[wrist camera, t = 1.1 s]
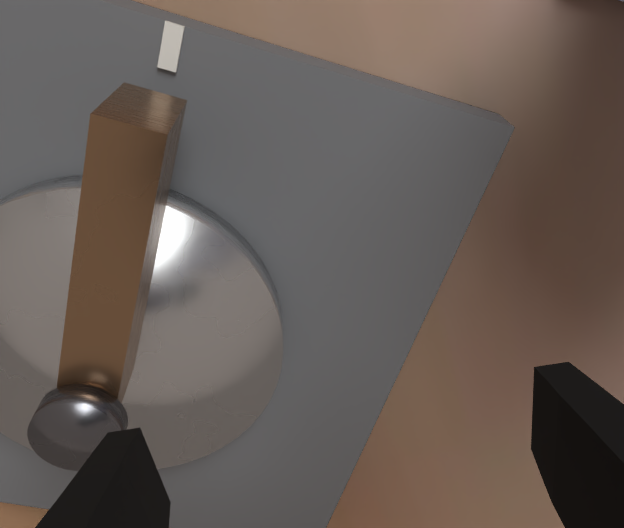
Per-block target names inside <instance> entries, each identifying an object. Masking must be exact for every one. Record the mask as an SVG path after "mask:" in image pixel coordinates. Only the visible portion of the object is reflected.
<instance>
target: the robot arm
mask: <svg viewBox="0 0 624 528" xmlns="http://www.w3.org/2000/svg"><path fill="white" fill-rule="evenodd" d="M619 1H622V2H624V0H619ZM531 450H532V452H533V455H534V458H535V460H536V463H537V466H538V468H539V471H540V474H541V476H542V479H543V481H544V484H545V486H546V489H547V491H548V494H549V496H550V499H551V501H552V503H553V505H554V507H555V509H556V511H557V513H558V515H559V517H560V519H561V521H562V523H563V525H564V527H565V528H624V404H623V403H621V402H620V401H619V400H617V399H616V398H615V397H613V396H612V395H611V394H610V393H608V392H607V391H606V390H604V389H603V388H602V387H601V386H599V385H598V384H597V383H595V382H594V381H593V380H592V379H590V378H589V377H588V376H586V375H585V374H584V373H582V372H581V371H580V370H579V369H577V368H576V367H575V366H573V365H572V364H571V363H569V362H565V363H558V364H552V365H545V366H539V367H534V388H533V413H532V439H531ZM170 505H171V502H170V499H169V497H168V494H167V492H166V490H165V487H164V485H163V482H162V480H161V477H160V475H159V472H158V470H157V468H156V465H155V463H154V460H153V458H152V455H151V453H150V450H149V448H148V445H147V443H146V441H145V438H144V436H143V433H142V431H141V428H134V429H127V430H121V431H114V432H108V433H107V434H106V435H105V437H104V438H103V439H102V441H101V442H100V443H99V444H98V446H97V447H96V448H95V450H94V451H93V452H92V454H91V455H90V456H89V458H88V459H87V460H86V462H85V463H84V464H83V466H82V467H81V468H80V470H79V471H78V472H77V474H76V475H75V476H74V478H73V479H72V480H71V482H70V483H69V484H68V486H67V487H66V488H65V490H64V491H63V492H62V494H61V495H60V496H59V498H58V499H57V500H56V502H55V503H54V504H53V505H52V507H51V508H50V509H49V511H48V512H47V513H46V514H45V516H44V517H43V518H42V520H41V521H40V522H39V523H38V525H37V526H36V527H35V528H169V518H170Z"/></svg>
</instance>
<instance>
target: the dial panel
mask: <svg viewBox="0 0 624 528" xmlns="http://www.w3.org/2000/svg"><path fill="white" fill-rule="evenodd" d="M124 82H125V83H129V84H132V85H136V86H139V87H143V88H146V89H150V90H153V91H157V92H160V93H164V94H167V95H171V96H174V97H178V98H181V99H185V100H187V104H186V109H185V114H184V119H183V124H182V129H181V134H180V139H179V144H178V149H177V154H176V160H175V165H174V170H173V175H172V180H171V185H170V189H172V190H174V191H177V192H179V193H181V194H183V195H185V196H188V197H190V198H192V199H194V200H196V201H197V202H199V203H201V204H202V205H204V206H206V207H207V208H209V209H211V210H212V211H214V212H215V213H217V214H218V215H219V216H220V217H222V218H223V219H224V220H226V221H227V222H228V223H229V224H231V225H232V226H233V227H234V228H235V229H236V230H237V231H238V232H239V233H240V234H241V235H242V236H243V237H244V238H245V239H246V240H247V241H248V242H249V243H250V245H251V246H252V247H253V249H254V250H255V251H256V253H257V254H258V255H259V256H260V258H261V259H262V261H263V263H264V265H265V266H266V268H267V270H268V272H269V273H270V275H271V277H272V280H273V283H274V285H275V288H276V290H277V293H278V296H279V301H280V305H281V310H282V320H283V358H282V368H281V372H280V375H279V379H278V383H277V386H276V388H275V390H274V392H273V395H272V397H271V399H270V401H269V402H268V404H267V406H266V407H265V409H264V410H263V412H262V413H261V415H260V416H259V417H258V418H257V419H256V420H255V421H254V423H253V424H252V425H251V426H250V427H249V428H248V429H247V430H245V431H244V432H243V433H242V434H241V435H240V436H238V437H237V438H236V439H234V440H233V441H231V442H230V443H228V444H227V445H225V446H224V447H222V448H220V449H218V450H216V451H215V452H213V453H211V454H209V455H207V456H204V457H201V458H199V459H196V460H193V461H191V462H188V463H184V464H180V465H176V466H172V467H167V468H160V469H157V470H158V472H159V475H160V477H161V480H162V482H163V485H164V487H165V490H166V492H167V494H168V497H169V499H170V502H171V505H170V518H169V528H326V527H327V525H328V523H329V520H330V518H331V516H332V514H333V512H334V510H335V508H336V506H337V504H338V501H339V499H340V497H341V495H342V493H343V491H344V489H345V487H346V484H347V482H348V480H349V478H350V476H351V474H352V472H353V470H354V467H355V465H356V463H357V461H358V459H359V457H360V455H361V453H362V451H363V448H364V446H365V444H366V442H367V440H368V438H369V436H370V434H371V431H372V429H373V427H374V425H375V423H376V421H377V419H378V417H379V414H380V412H381V410H382V408H383V406H384V404H385V402H386V400H387V398H388V395H389V393H390V391H391V389H392V387H393V385H394V383H395V381H396V378H397V376H398V374H399V372H400V370H401V368H402V366H403V364H404V361H405V359H406V357H407V355H408V353H409V351H410V349H411V347H412V345H413V342H414V340H415V338H416V336H417V334H418V332H419V330H420V328H421V325H422V323H423V321H424V319H425V317H426V315H427V313H428V311H429V308H430V306H431V304H432V302H433V300H434V298H435V296H436V294H437V292H438V289H439V287H440V285H441V283H442V281H443V279H444V277H445V275H446V272H447V270H448V268H449V266H450V264H451V262H452V260H453V258H454V255H455V253H456V251H457V249H458V247H459V245H460V243H461V241H462V239H463V236H464V234H465V232H466V230H467V228H468V226H469V224H470V222H471V219H472V217H473V215H474V213H475V211H476V209H477V207H478V205H479V202H480V200H481V198H482V196H483V194H484V192H485V190H486V188H487V186H488V183H489V181H490V179H491V177H492V175H493V173H494V171H495V169H496V166H497V164H498V162H499V160H500V158H501V156H502V154H503V152H504V149H505V147H506V145H507V143H508V141H509V139H510V137H511V135H512V133H513V130H514V128H515V127H514V126H513V125H511V124H510V123H509V122H508V121H506V120H505V119H504V118H503V117H501V116H500V115H499V114H497V113H494V112H490V111H487V110H484V109H481V108H477V107H474V106H471V105H468V104H464V103H461V102H458V101H455V100H452V99H448V98H445V97H442V96H439V95H435V94H432V93H429V92H426V91H422V90H419V89H416V88H413V87H410V86H406V85H403V84H400V83H397V82H393V81H390V80H387V79H384V78H380V77H377V76H374V75H371V74H367V73H364V72H361V71H358V70H355V69H351V68H348V67H345V66H342V65H338V64H335V63H332V62H329V61H325V60H322V59H319V58H316V57H313V56H309V55H306V54H303V53H300V52H296V51H293V50H290V49H287V48H283V47H280V46H277V45H274V44H270V43H267V42H264V41H261V40H258V39H254V38H251V37H248V36H245V35H241V34H238V33H235V32H232V31H228V30H225V29H222V28H219V27H216V26H212V25H209V24H206V23H203V22H199V21H196V20H193V19H190V18H186V17H183V16H180V15H177V14H173V13H170V12H167V11H164V10H161V9H157V8H154V7H151V6H148V5H144V4H141V3H138V2H135V1H131V0H0V200H1V199H3V198H4V197H6V196H8V195H10V194H12V193H14V192H16V191H18V190H20V189H22V188H24V187H26V186H30V185H33V184H36V183H39V182H42V181H45V180H49V179H55V178H60V177H66V176H72V175H83V169H84V161H85V153H86V145H87V137H88V129H89V120H90V113H92V112H93V111H94V110H95V109H96V108H97V107H98V106H99V105H100V104H101V103H102V102H103V101H104V100H106V99H107V98H108V97H109V96H110V95H111V94H112V93H113V92H114V91H115V90H116V89H117V88H118V87H120V86H121V85H122V84H123V83H124ZM77 472H78V471H72V470H66V469H62V468H59V467H56V466H54V465H52V464H50V463H48V462H46V461H45V460H43V459H42V458H41V457H39V456H38V455H37V454H36V453H35V451H33V450H31V449H29V448H27V447H25V446H23V445H21V444H19V443H17V442H15V441H13V440H11V439H10V438H8V437H7V436H5V435H4V434H2V433H1V432H0V502H4V503H11V504H17V505H24V506H30V507H37V508H44V509H50V508H51V507H52V505H53V504H54V503H55V502H56V500H57V499H58V498H59V496H60V495H61V494H62V492H63V491H64V490H65V488H66V487H67V486H68V484H69V483H70V482H71V480H72V479H73V478H74V476H75V475H76V474H77Z"/></svg>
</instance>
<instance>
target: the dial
mask: <svg viewBox="0 0 624 528" xmlns="http://www.w3.org/2000/svg"><path fill="white" fill-rule="evenodd" d="M186 104H187V100H185V99H181V98H178V97H174V96H171V95H167V94H164V93H160V92H157V91H153V90H150V89H146V88H143V87H139V86H136V85H132V84H129V83H125V82H124V83H123V84H122V85H121V86H120V87H118V88H117V89H116V90H115V91H114V92H113V93H112V94H111V95H110V96H109V97H108V98H107V99H106V100H104V101H103V102H102V103H101V104H100V105H99V106H98V107H97V108H96V109H95V110H94V111H93V112H92V113H90V120H89V129H88V137H87V145H86V153H85V161H84V169H83V175H72V176H66V177H60V178H55V179H49V180H45V181H42V182H39V183H36V184H33V185H30V186H26V187H24V188H22V189H20V190H18V191H16V192H14V193H12V194H10V195H8V196H6V197H4V198H3V199H1V200H0V432H1V433H2V434H4V435H5V436H7V437H8V438H10V439H11V440H13V441H15V442H17V443H19V444H21V445H23V446H25V447H27V448H29V449H31V450H33V451H35V453H36V454H37V455H38V456H39V457H41V458H42V459H43V460H45V461H46V462H48V463H50V464H52V465H54V466H56V467H59V468H62V469H66V470H72V471H79V470H80V468H81V467H82V466H83V464H84V463H85V462H86V460H87V459H88V458H89V456H90V455H91V454H92V452H93V451H94V450H95V448H96V447H97V446H98V444H99V443H100V442H101V441H102V439H103V438H104V437H105V435H106V434H107V433H108V432H114V431H121V430H127V429H134V428H141V431H142V433H143V436H144V438H145V441H146V443H147V445H148V448H149V450H150V453H151V455H152V458H153V460H154V463H155V465H156V468H157V469H160V468H167V467H172V466H176V465H180V464H184V463H188V462H191V461H193V460H196V459H199V458H201V457H204V456H207V455H209V454H211V453H213V452H215V451H216V450H218V449H220V448H222V447H224V446H225V445H227V444H228V443H230V442H231V441H233V440H234V439H236V438H237V437H238V436H240V435H241V434H242V433H243V432H244V431H245V430H247V429H248V428H249V427H250V426H251V425H252V424H253V423H254V421H255V420H256V419H257V418H258V417H259V416H260V415H261V413H262V412H263V410H264V409H265V407H266V406H267V404H268V402H269V401H270V399H271V397H272V395H273V392H274V390H275V388H276V386H277V383H278V379H279V375H280V372H281V368H282V358H283V320H282V310H281V305H280V301H279V296H278V293H277V290H276V288H275V285H274V283H273V280H272V277H271V275H270V273H269V272H268V270H267V268H266V266H265V265H264V263H263V261H262V259H261V258H260V256H259V255H258V254H257V253H256V251H255V250H254V249H253V247H252V246H251V245H250V243H249V242H248V241H247V240H246V239H245V238H244V237H243V236H242V235H241V234H240V233H239V232H238V231H237V230H236V229H235V228H234V227H233V226H232V225H231V224H229V223H228V222H227V221H226V220H224V219H223V218H222V217H220V216H219V215H218V214H217V213H215V212H214V211H212V210H211V209H209V208H207V207H206V206H204V205H202V204H201V203H199V202H197V201H196V200H194V199H192V198H190V197H188V196H185V195H183V194H181V193H179V192H177V191H174V190H172V189H170V185H171V180H172V175H173V170H174V165H175V160H176V154H177V149H178V144H179V139H180V134H181V129H182V124H183V119H184V114H185V109H186Z"/></svg>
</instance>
